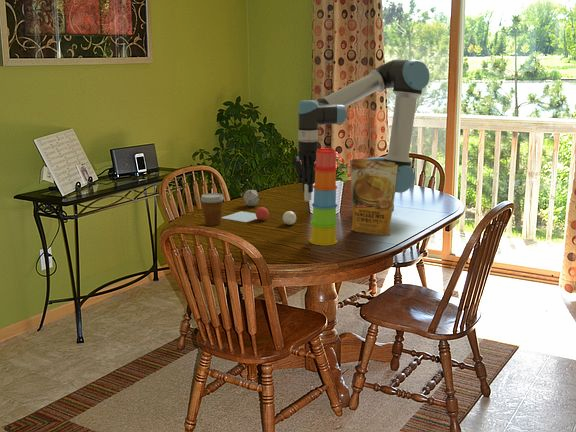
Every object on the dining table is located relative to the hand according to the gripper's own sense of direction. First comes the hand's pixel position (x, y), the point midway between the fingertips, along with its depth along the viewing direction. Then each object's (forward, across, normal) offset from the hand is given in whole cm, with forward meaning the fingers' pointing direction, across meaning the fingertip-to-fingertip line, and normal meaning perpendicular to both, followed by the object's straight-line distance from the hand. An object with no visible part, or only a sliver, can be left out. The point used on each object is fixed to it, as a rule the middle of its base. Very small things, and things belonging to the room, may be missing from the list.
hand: (307, 200), depth 280 cm
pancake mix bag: (+11, +25, +8) cm, 28 cm away
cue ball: (+9, -9, 0) cm, 13 cm away
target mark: (+11, -33, 0) cm, 35 cm away
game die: (+12, -43, +18) cm, 48 cm away
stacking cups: (+11, +17, -14) cm, 25 cm away
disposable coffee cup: (+12, -36, -16) cm, 41 cm away
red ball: (+9, -23, 0) cm, 25 cm away
